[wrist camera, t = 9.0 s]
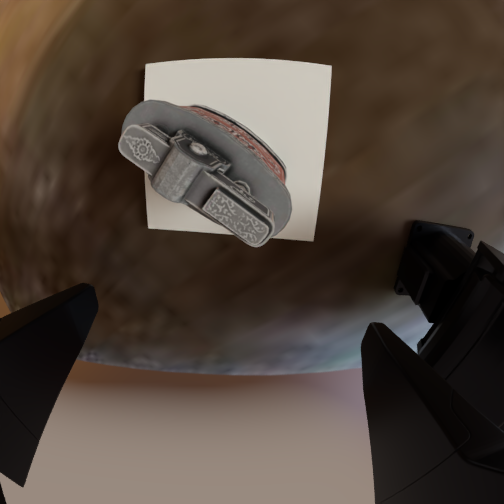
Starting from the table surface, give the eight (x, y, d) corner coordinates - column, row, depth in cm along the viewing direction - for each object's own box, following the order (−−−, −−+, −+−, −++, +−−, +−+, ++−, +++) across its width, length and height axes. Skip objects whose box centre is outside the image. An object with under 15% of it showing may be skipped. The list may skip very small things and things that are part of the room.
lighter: (168, 135, 17) (73, 161, 8) (196, 93, 16) (115, 76, 7) (265, 205, 19) (253, 291, 10) (298, 166, 18) (320, 220, 9)
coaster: (328, 68, 15) (331, 65, 14) (311, 235, 21) (313, 241, 20) (151, 66, 16) (145, 64, 15) (153, 223, 21) (148, 228, 20)
